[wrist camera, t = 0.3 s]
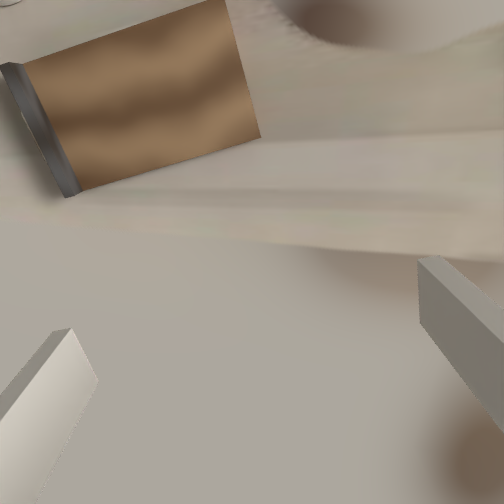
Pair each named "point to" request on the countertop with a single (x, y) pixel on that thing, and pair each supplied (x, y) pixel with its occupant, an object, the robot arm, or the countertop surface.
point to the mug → (8, 2)
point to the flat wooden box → (137, 98)
